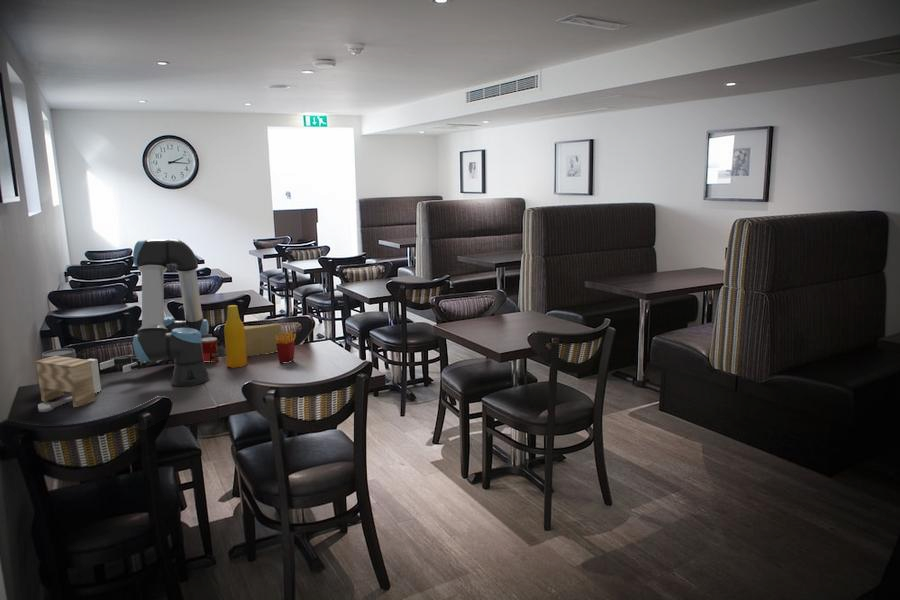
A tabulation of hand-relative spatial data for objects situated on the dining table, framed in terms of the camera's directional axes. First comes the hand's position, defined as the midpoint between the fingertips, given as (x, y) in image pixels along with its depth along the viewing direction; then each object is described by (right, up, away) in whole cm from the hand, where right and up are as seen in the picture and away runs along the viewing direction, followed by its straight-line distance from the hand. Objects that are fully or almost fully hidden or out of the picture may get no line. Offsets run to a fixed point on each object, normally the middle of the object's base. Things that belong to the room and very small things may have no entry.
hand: (111, 368), depth 260 cm
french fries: (+65, -1, +36) cm, 74 cm away
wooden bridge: (-7, -11, -17) cm, 22 cm away
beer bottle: (+44, -2, +29) cm, 53 cm away
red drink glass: (+28, -1, +38) cm, 47 cm away
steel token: (-11, -13, -26) cm, 31 cm away
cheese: (+49, +1, +49) cm, 69 cm away
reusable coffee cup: (-22, -8, +2) cm, 24 cm away
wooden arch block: (-6, -11, -15) cm, 19 cm away
